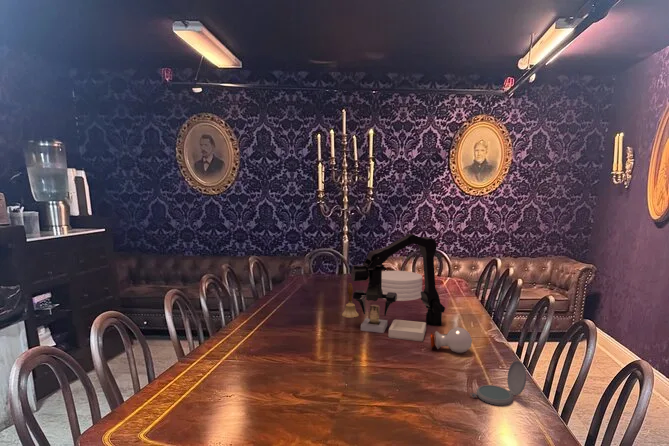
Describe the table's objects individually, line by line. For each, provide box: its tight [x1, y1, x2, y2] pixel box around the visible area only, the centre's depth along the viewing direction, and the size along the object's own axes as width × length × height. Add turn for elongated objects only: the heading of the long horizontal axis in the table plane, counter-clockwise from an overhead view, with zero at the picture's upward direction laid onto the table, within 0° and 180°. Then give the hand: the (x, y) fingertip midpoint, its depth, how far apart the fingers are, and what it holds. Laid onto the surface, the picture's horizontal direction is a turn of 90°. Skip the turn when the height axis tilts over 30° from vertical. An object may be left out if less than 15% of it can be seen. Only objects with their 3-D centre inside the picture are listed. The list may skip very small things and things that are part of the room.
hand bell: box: [341, 282, 359, 319], centre depth 202 cm, size 8×8×16 cm
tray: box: [388, 319, 427, 342], centre depth 176 cm, size 14×14×4 cm
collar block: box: [360, 317, 388, 334], centre depth 184 cm, size 10×10×2 cm
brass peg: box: [369, 304, 380, 325], centre depth 183 cm, size 4×4×10 cm
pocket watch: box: [469, 360, 527, 406], centre depth 122 cm, size 10×11×15 cm
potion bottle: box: [429, 326, 473, 354], centre depth 158 cm, size 9×10×15 cm
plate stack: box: [381, 270, 423, 302], centre depth 243 cm, size 28×28×12 cm
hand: (374, 314), depth 183 cm, fingers open, 9 cm apart
